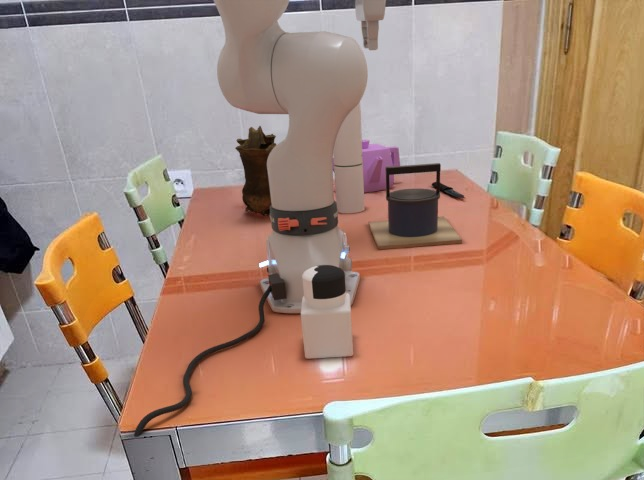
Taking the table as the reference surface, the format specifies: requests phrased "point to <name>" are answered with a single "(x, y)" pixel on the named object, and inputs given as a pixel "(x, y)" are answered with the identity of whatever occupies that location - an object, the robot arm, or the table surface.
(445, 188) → the knife
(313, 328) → the medicine bottle
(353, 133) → the cylindrical container
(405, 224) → the pot
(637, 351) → the table surface
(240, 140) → the pottery vessel
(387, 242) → the cutting board
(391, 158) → the teakettle
